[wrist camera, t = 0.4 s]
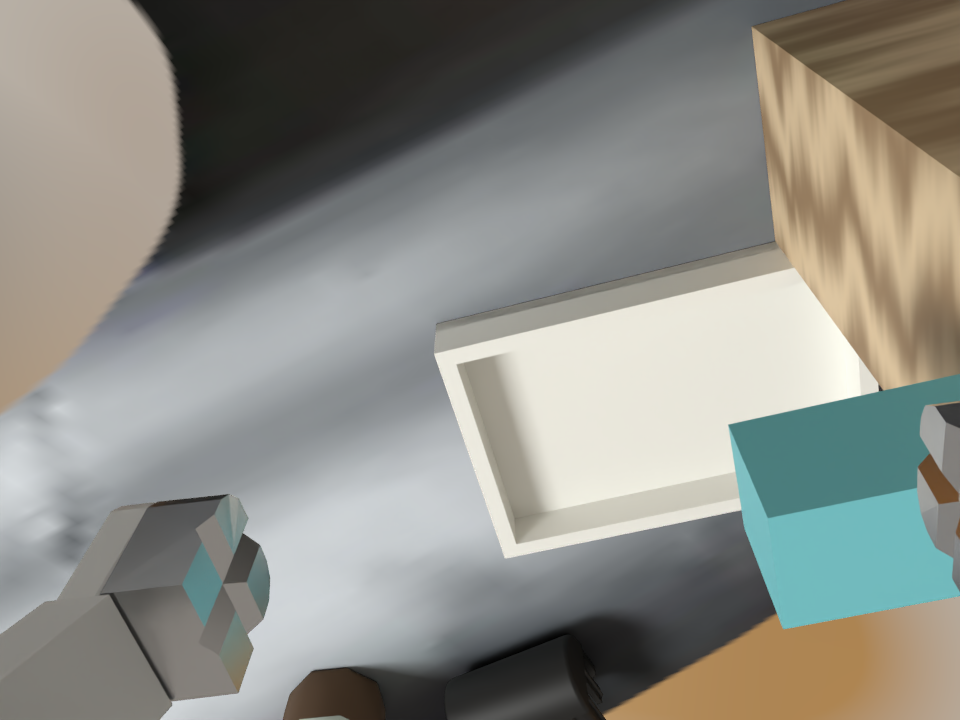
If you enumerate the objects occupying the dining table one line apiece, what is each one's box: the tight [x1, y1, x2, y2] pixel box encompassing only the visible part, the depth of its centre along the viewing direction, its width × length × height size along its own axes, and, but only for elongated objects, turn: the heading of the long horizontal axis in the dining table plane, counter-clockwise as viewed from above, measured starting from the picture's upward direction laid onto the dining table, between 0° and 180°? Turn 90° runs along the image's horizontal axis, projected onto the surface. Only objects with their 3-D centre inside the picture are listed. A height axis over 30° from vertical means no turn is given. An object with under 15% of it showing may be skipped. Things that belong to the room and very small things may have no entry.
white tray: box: [434, 241, 879, 559], centre depth 54 cm, size 16×24×4 cm, turn 105°
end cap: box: [444, 635, 606, 720], centre depth 66 cm, size 10×7×7 cm
